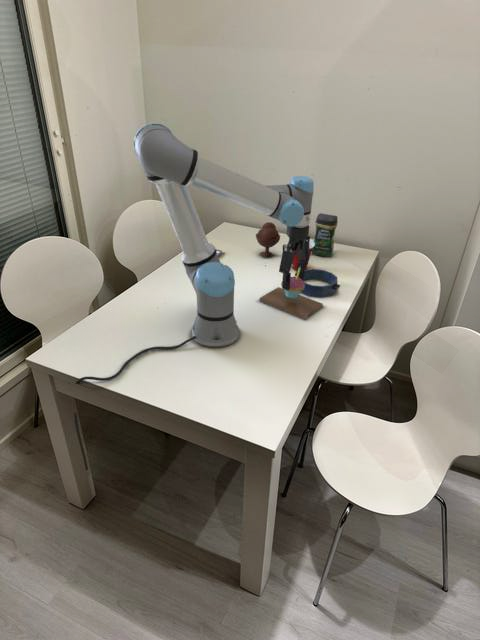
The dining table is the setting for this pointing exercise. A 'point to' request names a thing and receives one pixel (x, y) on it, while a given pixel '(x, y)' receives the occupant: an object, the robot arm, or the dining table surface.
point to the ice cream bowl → (267, 238)
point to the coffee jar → (324, 235)
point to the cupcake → (295, 286)
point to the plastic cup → (296, 259)
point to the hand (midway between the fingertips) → (292, 284)
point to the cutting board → (291, 303)
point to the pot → (320, 290)
